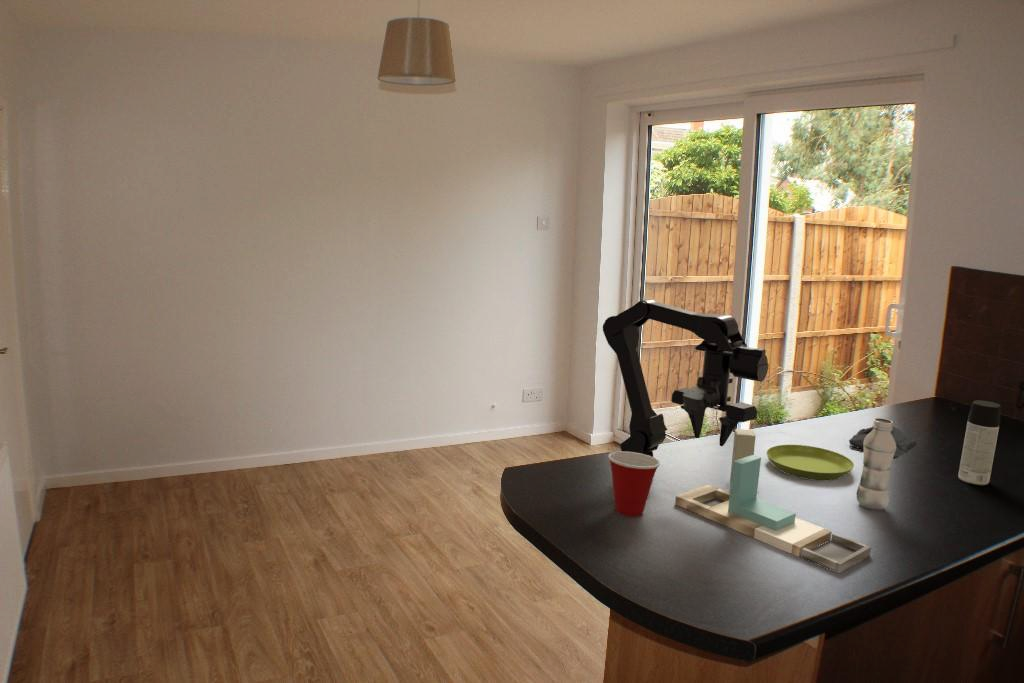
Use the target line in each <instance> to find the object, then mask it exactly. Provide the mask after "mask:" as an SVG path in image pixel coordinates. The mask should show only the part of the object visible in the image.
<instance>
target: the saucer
mask: <svg viewBox="0 0 1024 683" xmlns="http://www.w3.org/2000/svg"><path fill="white" fill-rule="evenodd" d="M765 453H766V456H767V458H768V460H769V461H770V462H771V464H772V465H773V466H774V467H775V468H776V469H777V470H779V471H780V472H783V473H784V472H785V473H784V474H787V475H790V476H792V477H795V478H800V479H805V480H812V481H834V480H839V479H840V478H843V477H845V476H847V475H848V474H849V473H850V472H851V471H852V470H853V469H854V467H855V464H854V462H853V461H852V460H851V458H849V457H847V456H845V455H844V454H841V453H838V452H836V451H833V450H829V449H825V448H822V447H817V446H810V445H803V444H780V445H779V444H777V445H774V446H771V447H770V448H768V449H767V450H766V452H765Z"/></svg>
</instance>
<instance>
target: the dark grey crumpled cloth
mask: <svg viewBox="0 0 1024 683" xmlns="http://www.w3.org/2000/svg"><path fill="white" fill-rule="evenodd" d="M873 429H874V428H873V427H872V426H871V427H869V428H862V429H859V431H858V432H857V433H856V434H854V435H852V437H851V438H850V439H849V440H848V441H849V444H850V445H851V446H852V447H854V448H857V449H862V450H864V448H863V446H864V445H863V443H864V439H865V437H866V436H867V435H868V434H869V433H870V432H871V431H872V430H873ZM890 433H891V435H892V436H893V438H894V440H895V442H896V451H895V454H894V457H893V459H898V458H900V457H901V456H903V455H904V454H906V453H907V452H909V451H910V450H911V449H912V448H913V447H915V446H916V445H917V441H915V440H913V439H912V438H910V437H908V436H907V435H906V434H904V432H903V431H902V430H900V429H899V428H897V427H895V426H893V425H892V431H890Z"/></svg>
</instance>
